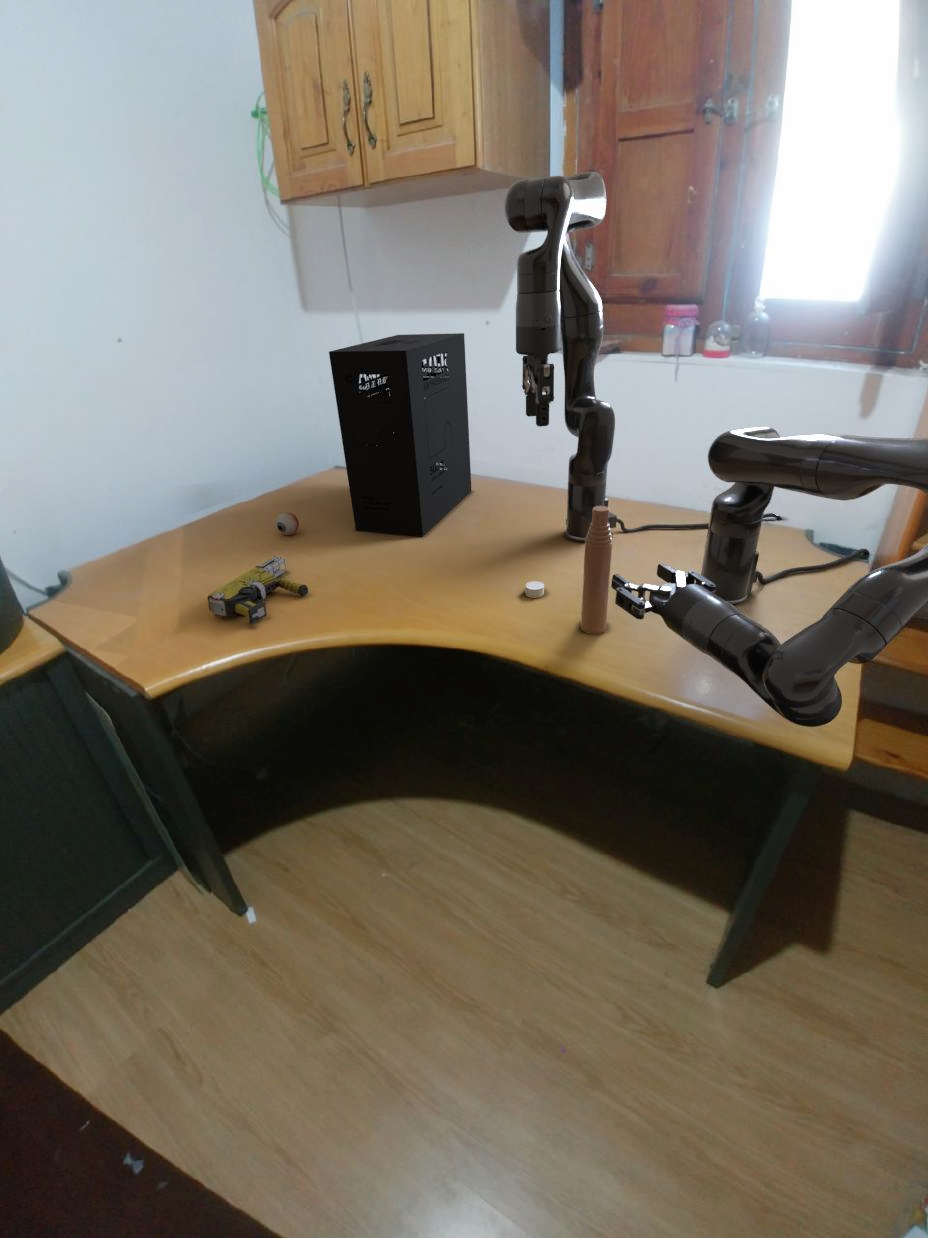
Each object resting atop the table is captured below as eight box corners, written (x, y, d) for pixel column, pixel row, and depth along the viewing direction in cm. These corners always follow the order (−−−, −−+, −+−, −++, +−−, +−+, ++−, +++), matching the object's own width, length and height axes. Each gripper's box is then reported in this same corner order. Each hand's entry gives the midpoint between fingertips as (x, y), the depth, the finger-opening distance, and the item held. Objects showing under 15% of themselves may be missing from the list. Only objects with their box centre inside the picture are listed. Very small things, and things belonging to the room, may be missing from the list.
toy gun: (328, 564, 138) (272, 553, 142) (265, 610, 118) (201, 595, 122) (329, 583, 141) (274, 571, 145) (267, 631, 121) (205, 616, 125)
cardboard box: (412, 487, 195) (398, 334, 173) (471, 491, 189) (464, 333, 166) (355, 529, 165) (328, 351, 143) (423, 536, 159) (406, 350, 136)
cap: (537, 587, 130) (537, 579, 129) (547, 594, 127) (547, 586, 126) (522, 592, 129) (522, 584, 128) (532, 599, 126) (532, 591, 125)
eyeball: (273, 537, 164) (268, 516, 161) (287, 528, 169) (282, 508, 166) (291, 539, 161) (286, 518, 158) (305, 530, 166) (301, 510, 163)
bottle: (610, 625, 115) (619, 506, 103) (598, 636, 112) (606, 514, 100) (588, 618, 118) (595, 501, 106) (576, 629, 115) (581, 509, 103)
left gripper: (508, 321, 108) (509, 414, 116) (524, 326, 96) (524, 431, 104) (549, 318, 109) (547, 411, 117) (571, 323, 96) (567, 427, 104)
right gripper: (659, 655, 84) (596, 603, 97) (741, 632, 88) (670, 585, 101) (666, 608, 80) (600, 561, 93) (751, 586, 84) (676, 544, 97)
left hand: (537, 420), depth 110 cm, fingers open, 8 cm apart
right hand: (636, 574), depth 97 cm, fingers open, 8 cm apart
